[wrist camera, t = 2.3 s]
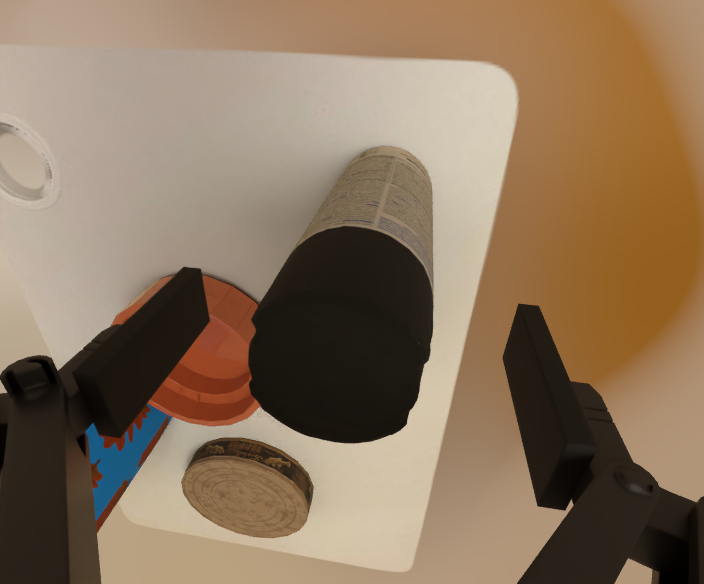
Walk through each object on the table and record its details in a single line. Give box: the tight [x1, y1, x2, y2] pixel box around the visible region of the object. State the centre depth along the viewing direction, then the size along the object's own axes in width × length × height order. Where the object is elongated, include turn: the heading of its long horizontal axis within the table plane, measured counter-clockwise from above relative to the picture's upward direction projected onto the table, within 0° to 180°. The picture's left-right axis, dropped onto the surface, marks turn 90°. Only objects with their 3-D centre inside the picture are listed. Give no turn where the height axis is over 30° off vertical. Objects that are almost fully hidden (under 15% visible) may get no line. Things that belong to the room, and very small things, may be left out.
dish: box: [110, 276, 260, 426], centre depth 38 cm, size 14×14×5 cm
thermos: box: [86, 403, 172, 532], centre depth 37 cm, size 11×11×25 cm
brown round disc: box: [181, 438, 313, 538], centre depth 51 cm, size 16×16×3 cm
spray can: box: [248, 147, 434, 443], centre depth 22 cm, size 7×7×20 cm
